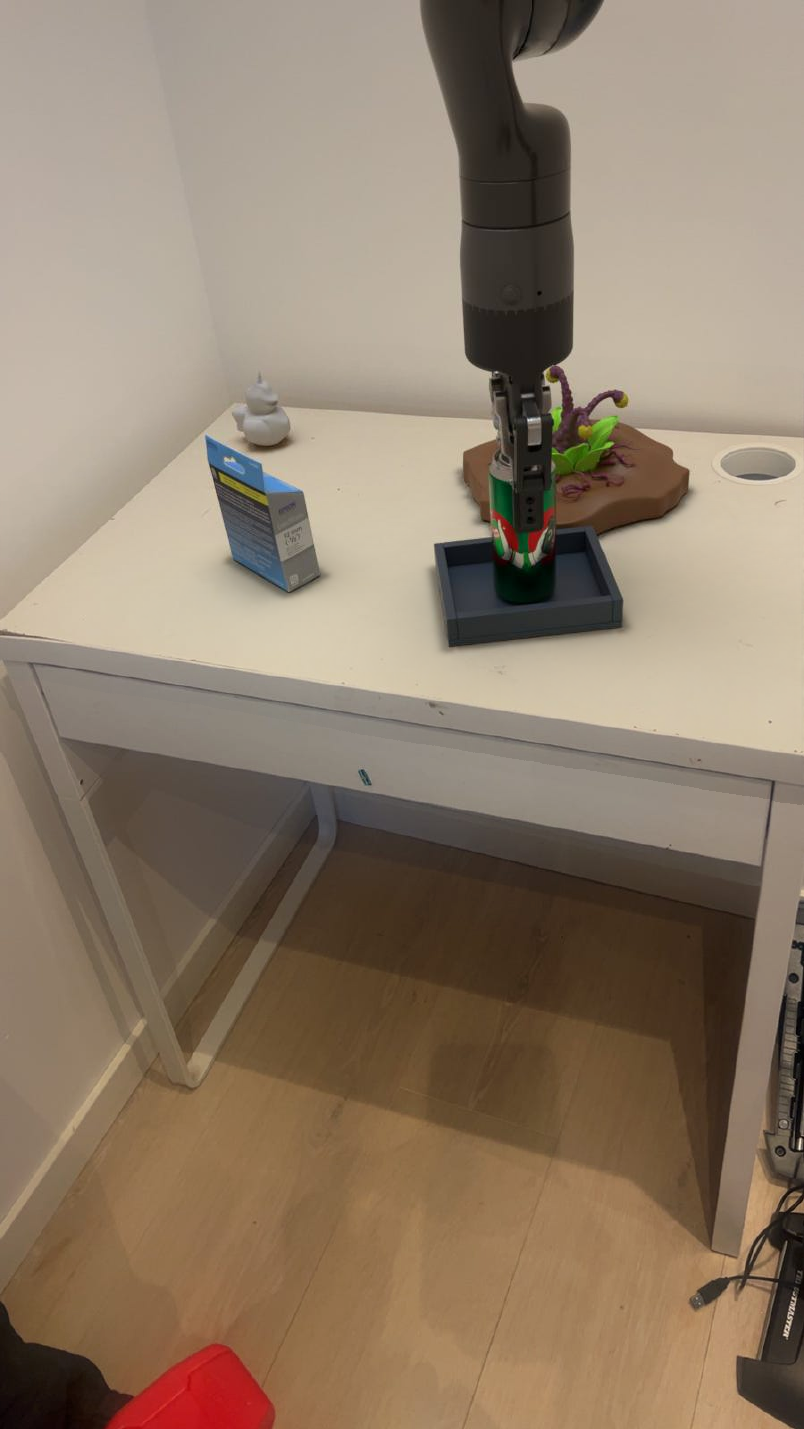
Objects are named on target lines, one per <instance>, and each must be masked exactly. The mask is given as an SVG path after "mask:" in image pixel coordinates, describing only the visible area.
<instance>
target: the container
mask: <svg viewBox="0 0 804 1429" xmlns="http://www.w3.org/2000/svg"><path fill="white" fill-rule="evenodd" d="M433 551H434V561H435V572H436V578H437V583H438V590H439V597H440V601H441V608H442V613H443V614H442V615H443V620H444V626H445V632H446V638H447V645H448V647H457V646H465V645H474V644H483V643H491V642H501V641H502V642H503V641H510V640H517V639H518V640H519V639H527V638H537V637H545V636H554V635H563V634H572V633H580V632H590V631H597V630H599V631H601V630H607V629H608V630H609V629H616V628H617V629H619V628H622V627H623V613H624V597H623V596H622V595H623V594H622V592H621V590H620V588H619V585H618V583H617V581H616V579H615V576H614V574H613V572H612V569H611V567H610V564H609V561H608V560H607V557H606V554H605V552H604V550H603V548H602V545H601V542H600V540H599V538H598V534H597V535H596V533H595V530H594V528H593V526H584V527H575V528H566V529H558V530H556V587H555V589H554V591H553V592H552V593H551V594H550V595H549V596H548V597H547V598H546V599H544V600H542V601H540V602H538V603H534V604H528V605H519V604H513V603H510V602H507V601H505V600H504V599H503V598H501V597H500V596H499V595H498V594H497V593H496V592H495V590H494V582H493V561H492V539H491V536H487V537H479V538H470V539H469V538H468V539H464V540H463V539H461V540H453V541H444V542H436V543H433Z"/></svg>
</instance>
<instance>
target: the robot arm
mask: <svg viewBox="0 0 804 1429" xmlns="http://www.w3.org/2000/svg"><path fill="white" fill-rule="evenodd" d="M604 2H605V0H419V12H420V13H419V14H420V20H421V27H422V31H423V35H424V39H425V43H426V45H427V50H428V53H429V56H430V60H431V63H432V66H433V69H434V72H435V75H436V80H437V82H438V86H439V89H440V92H441V95H442V99H443V104H444V107H445V110H446V114H447V118H448V121H449V124H450V129H451V132H452V135H453V138H454V143H455V145H456V150H457V157H458V173H459V174H458V180H459V181H458V183H459V200H460V217H461V220H460V221H461V225H460V226H461V233H460V244H459V247H460V248H459V270H460V271H459V272H460V287H461V289H460V290H461V309H462V324H463V325H462V327H463V344H464V346H463V347H464V354H465V358H466V359H467V361H468V362H469V363H470V364H471V365H472V366H474V367H476V368H478V369H480V370H483V371H485V372H490V373H491V377H489V378H488V391H489V396H490V401H491V418H492V423H493V427H494V429H495V430H496V431H497V435H496V436H495V438H496V441H497V442H498V445H499V447H501V450H502V453H503V455H504V456H506V457H508V458H509V463H510V475H511V478H510V479H509V481H510V485H511V486H512V500H513V526H514V529H515V531H516V532H517V533H519V534H522V533H531V532H538V531H541V530H542V529H543V527H544V490H550V489H551V484H552V477H551V464H552V433H553V426H554V419H553V418H552V415H551V413H552V412H550V411H551V410H552V407H553V406H552V405H553V400H552V391H551V386H550V384H548V385H547V384H546V375H545V371H547V370H548V369H549V368H550V367H552V366H554V365H556V366H558V365H559V364H561V363H563V362H564V361H565V360H567V358H568V357H569V356H570V355H571V354H572V351H573V349H574V348H573V346H574V304H575V303H574V301H575V300H574V296H575V293H574V292H575V244H574V234H573V228H572V227H573V225H572V211H571V207H572V205H571V204H572V201H571V200H572V138H571V129H570V128H571V127H570V123H569V120H568V118H567V117H566V115H565V114H564V113H563V111H561V109H558V108H557V107H554V106H552V105H549V104H544V103H536V102H524V101H523V99H522V96H521V94H520V91H519V87H518V84H517V81H516V78H515V73H514V68H513V66H514V65H513V63H515V62H520V61H524V60H530V59H533V58H537V57H543V56H547V55H551V54H552V55H553V54H554V53H558V52H560V51H562V50H564V49H566V48H568V47H569V46H571V45H572V44H573V43H574V42H575V41H577V39H579V38H580V37H581V36H582V35H583V33H584V32H586V30H587V29H588V28H589V27H590V25H591V24H592V23H593V22H594V20H595V19H596V17H597V15H598V13H599V12H600V10H601V9H602V6H603V5H604ZM532 465H537V470H534V471H525V472H523V469H524V468H525V467H526V466H532Z"/></svg>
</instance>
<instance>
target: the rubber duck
mask: <svg viewBox="0 0 804 1429" xmlns="http://www.w3.org/2000/svg"><path fill="white" fill-rule="evenodd" d="M244 395H245V396H244V397H245V404H246V406H245V405H237V406H235V407H233V408H232V410H231V415H232V417H233V419H234V421H235V422H236V428H237V429H236V430H237V431H238V432H242V433H243V435H244V437H245V439H246V441H247V442H248V443H251V444H254V445H257V446H266V447H267V446H275V445H277V444H279V443H280V442H282V441H283V440H284V438H286V436H287V435H288V434H289V432H291V420H290V418H289V416H288V414H287V413H286V410H284V408H283V407H282V406H281V405H279V398H280V397H279V395H278V393H277V392H276V391H275V390H274V389H273V388H272V386H271V385H270V384H269V382H268V381H266V380H265V378H264V377H262V375H261V372H260V371H258V373H257V377H256V380H255V381H253V382H252V383H251V385H250V386H249V387H248V389H247V390H246V392H245V394H244Z"/></svg>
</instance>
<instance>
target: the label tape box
mask: <svg viewBox="0 0 804 1429" xmlns="http://www.w3.org/2000/svg"><path fill="white" fill-rule="evenodd" d="M204 438H205V439H204V440H205V444H206V445H205V447H206V459H207V463H208V468H209V470H210V474H211V477H212V482H213V485H214V490H215V493H216V498H217V501H218V505H219V508H220V513H221V517H222V521H223V524H224V529H225V532H226V535H227V536H226V537H227V540H228V545H229V548H230V549H229V550H230V553H231V556H232V557H231V558H232V560H235V561H236V562H238V563H239V564H241V565H243V566H244V567H246V568H248V569H250V570H251V571H253V572H255V573H256V574H258V575H260V576H261V577H263V578H265V579H266V580H268V581H270V582H271V583H273V584H274V585H277V586H278V587H280V588H281V589H283V590H284V591H286V592H288V593H290V592H292V591H293V590H295V589H297V588H300V587H301V586H304V585H305V584H308V583H309V582H310V581H312V580H314V579H315V578H317V577H318V576H320V575H321V570H320V566H319V562H318V557H317V556H318V555H317V551H316V547H315V543H314V537H313V533H312V528H311V522H310V517H309V513H308V508H307V503H306V498H305V493H304V491H303V490H302V489H301V488H298V487H295V486H294V485H291V484H289V483H288V482H285V481H283V480H281V479H279V478H277V477H276V476H272V475H270V474H268V473H266V472H264V469H263V463H262V462H261V461H259V460H257V459H254V458H251V457H250V456H248V455H245V453H242V452H240V451H239V450H236V449H235V448H233V447H231V446H229V445H227V444H225V443H223V442H221V441H219V440H218V439H216V438H214V437H212V436H210V435H209V434H207V433H206V432H205V433H204ZM225 458H226V459H228V460H230V461H225ZM232 459H233V460H234V461H231V460H232Z"/></svg>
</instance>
